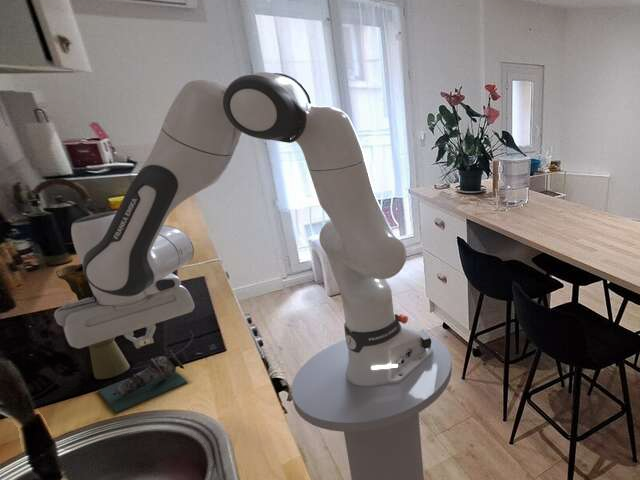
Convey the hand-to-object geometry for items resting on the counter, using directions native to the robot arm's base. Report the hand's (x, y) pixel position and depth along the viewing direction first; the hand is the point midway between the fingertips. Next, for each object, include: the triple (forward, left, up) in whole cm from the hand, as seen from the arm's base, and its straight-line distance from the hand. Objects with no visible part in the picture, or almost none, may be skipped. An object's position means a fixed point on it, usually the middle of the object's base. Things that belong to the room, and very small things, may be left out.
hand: (144, 345), depth 90 cm
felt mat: (+2, 0, -10) cm, 10 cm away
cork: (+4, -13, -10) cm, 17 cm away
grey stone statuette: (-4, +1, -6) cm, 7 cm away
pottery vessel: (-9, -42, -10) cm, 44 cm away
